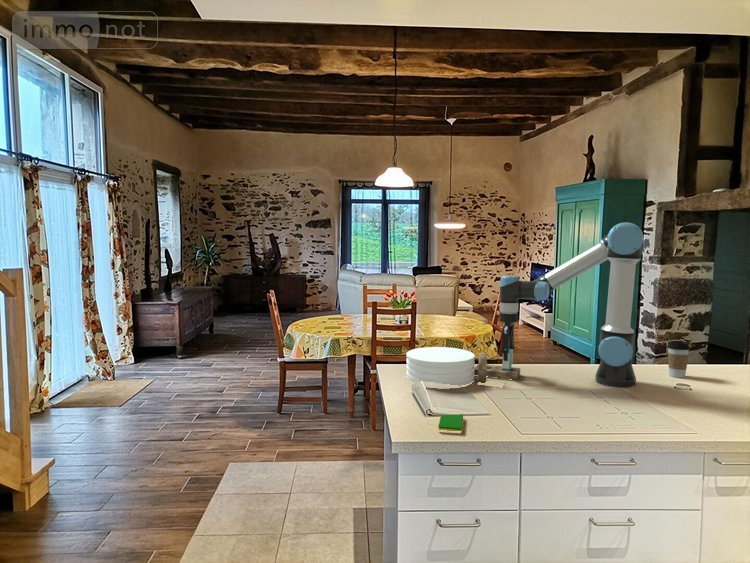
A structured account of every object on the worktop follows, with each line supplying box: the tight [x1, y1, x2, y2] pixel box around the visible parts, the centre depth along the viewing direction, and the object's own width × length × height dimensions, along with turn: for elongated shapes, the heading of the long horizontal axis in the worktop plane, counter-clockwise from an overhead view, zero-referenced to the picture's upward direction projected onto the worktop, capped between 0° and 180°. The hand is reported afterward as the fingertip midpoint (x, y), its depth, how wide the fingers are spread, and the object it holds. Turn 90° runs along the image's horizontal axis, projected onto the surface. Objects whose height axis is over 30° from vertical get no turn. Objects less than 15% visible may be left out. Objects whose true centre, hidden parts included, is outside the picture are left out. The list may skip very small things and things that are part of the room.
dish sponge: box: [438, 414, 464, 432], centre depth 162 cm, size 7×14×2 cm, turn 168°
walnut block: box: [474, 363, 521, 381], centre depth 219 cm, size 18×10×4 cm, turn 65°
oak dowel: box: [477, 352, 488, 383], centre depth 208 cm, size 3×3×12 cm
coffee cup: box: [667, 340, 691, 379], centre depth 219 cm, size 8×8×15 cm
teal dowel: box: [504, 349, 512, 371], centre depth 217 cm, size 3×3×12 cm
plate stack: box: [405, 346, 476, 386], centre depth 212 cm, size 28×28×12 cm
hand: (507, 366), depth 217 cm, fingers open, 7 cm apart
